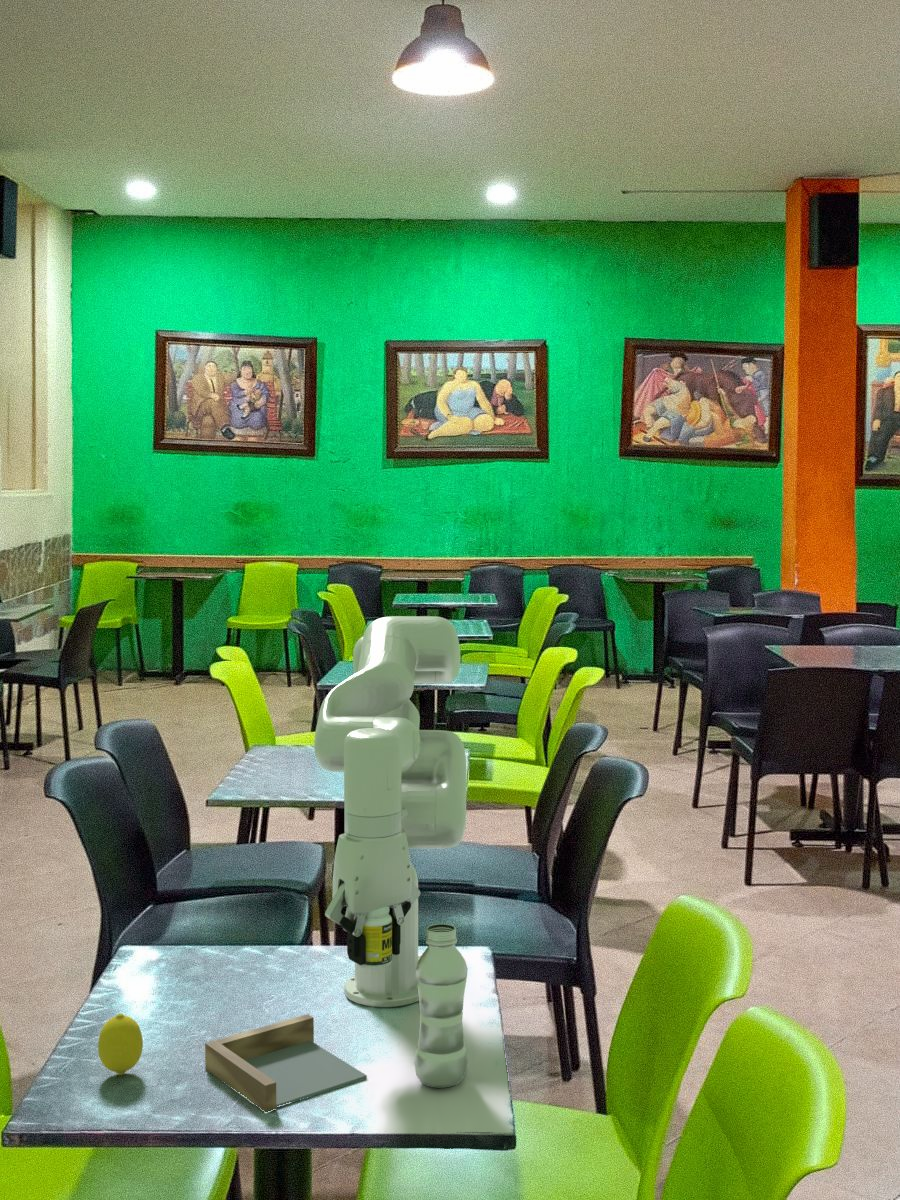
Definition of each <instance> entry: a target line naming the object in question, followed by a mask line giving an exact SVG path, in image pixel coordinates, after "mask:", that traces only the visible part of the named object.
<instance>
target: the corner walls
mask: <svg viewBox="0 0 900 1200" xmlns="http://www.w3.org/2000/svg"><path fill="white" fill-rule="evenodd" d="M314 1022H315V1021H314V1017H313V1016H311V1015H310V1014H303V1015H300V1016H296V1017H292V1018H289V1019H286V1020H282V1021H279V1022H276V1023H271V1024H268V1025H263V1026H261V1027H258V1028H253V1029H250V1030H248V1031H247V1030H246V1031H244V1032H240V1033H236V1034H233V1035H229V1036H225V1037H223V1038H219V1039H215V1040H211V1041H208V1042H205V1043H204V1047H205V1048H204V1049H205V1052H204V1054H205V1055H204V1056H205V1066H204V1067H205V1071H207V1070H208V1071H209V1072H208V1071H207V1072H208V1073H210V1074H211V1073H212V1074H213V1075H212V1074H211V1075H212V1076H214V1075H215V1076H216V1077H217V1078H216V1077H215V1076H214V1077H215V1078H216V1079H218V1078H219V1079H220V1080H221V1082H222V1081H223V1082H225V1083H226V1084H227V1085H229V1086H230V1087H232V1088H233V1089H235V1090H236V1091H237V1092H240V1094H242V1095H244V1096H245V1097H247V1099H249V1100H250V1101H251V1102H253V1103H254V1104H255V1105H257V1106H258V1107H260V1108H261V1109H262V1110H264V1111H265V1112H268V1111H271V1110H273V1109H278V1108H277V1104H276V1082H275V1081H274V1080H272V1079H271V1078H269V1077H268V1076H267V1075H265V1074H264V1073H262V1072H261V1071H259V1070H258V1069H256V1068H255V1067H254V1066H252V1065H251V1064H249V1063H248V1062H246V1061H245V1060H248V1059H251V1058H254V1057H258V1056H261V1055H264V1054H268V1053H271V1052H274V1051H278V1050H281V1049H284V1048H288V1047H291V1046H295V1045H298V1044H301V1043H305V1042H308V1041H312V1042H314V1041H315V1038H314V1037H315V1036H314V1035H315V1034H314V1031H315V1029H314V1027H315V1026H314V1024H315V1023H314ZM314 1043H315V1042H314ZM219 1079H218V1080H219ZM220 1080H219V1081H220ZM223 1082H222V1083H223ZM225 1083H224V1084H225ZM226 1084H225V1085H226ZM227 1085H226V1086H227ZM229 1086H228V1087H229ZM230 1087H229V1088H230ZM233 1089H232V1090H233ZM237 1092H236V1093H237Z"/></svg>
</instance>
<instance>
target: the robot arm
mask: <svg viewBox="0 0 900 1200" xmlns="http://www.w3.org/2000/svg"><path fill="white" fill-rule="evenodd" d="M457 633H458V632H457V631H456V628H455V626H454V625H453V623H452V622H451V621H450V620H449V619H447V618H444V617H441V616H436V615H435V616H431V615H430V616H429V615H428V616H427V615H423V616H421V615H420V616H418V615H417V616H416V615H413V616H412V615H411V616H410V615H405V616H404V615H402V616H401V615H398V616H397V615H396V616H395V615H394V616H393V615H391V616H390V615H389V616H384V617H379V618H377V619H375V620H372V622H370V623H369V625H368V626H367V627H366V629H365V631H364V632H363V636H361V637H360V638H359V639H358V640H357V641H356V642H355V644H354V648H353V653H352V665H353V666H352V668H353V674H352V675H351V676H349V677H348V678H346V679H344V680H343V681H342V682H340V683H339V684H338V685H336V686H335V687H333V688H332V689H331V690H330V691H329V692H328V694H326V696H325V697H324V699H323V700H322V703H321V705H320V708H319V712H318V718H317V722H316V723H317V724H316V727H315V734H314V744H313V745H314V746H313V747H314V748H313V749H314V756H315V758H316V761H317V763H318V764H319V767H321V768H322V769H324V770H326V771H329V772H334V773H335V772H336V773H339V772H342V773H343V790H344V792H343V793H344V794H343V795H344V796H343V799H344V801H343V802H344V803H343V804H344V805H343V806H344V807H343V808H344V812H343V813H344V833H341V834H339V835H338V839H337V844H336V849H335V854H334V861H333V870H332V871H333V873H332V875H333V876H332V895H331V897H332V899H331V901H330V903H329V905H328V906H327V908H326V910H325V913H324V916H325V917H326V918H328V919H329V920H330V921H333V922H334V923H336V924H337V925H338V926H339V927H340V928H342V930H343V931H345V932H346V954H347V956H348V957H347V958H348V959H349V960H350V961H352V962H354V975H353V976H351V977H350V978H349V979H348V980H346V982H345V983H344V987H343V988H344V989H343V990H344V995H345V996H346V998H348V999H349V1000H350V1001H351V1002H354V1003H355V1004H359V1005H362V1006H368V1007H375V1008H392V1007H393V1008H395V1007H402V1006H407V1005H410V1004H413V1003H417V1002H419V994H418V986H417V978H416V967H417V963H418V961H419V959H420V957H421V956H422V955H419V897H420V896H421V891H420V889H419V879H418V873H417V871H416V869H415V868H414V865H413V864H412V862H411V856H410V849H414V850H415V849H417V850H419V849H425V850H426V849H430V850H432V849H434V850H436V849H450V848H454V847H456V846H458V845H459V844H460V843H461V842H462V841H463V839H464V835H465V831H466V825H467V754H466V750H465V746H464V743H463V741H462V739H461V737H460V736H459V735H458V734H456V732H455V733H454V732H452V731H449V730H440V729H420V724H421V723H420V721H421V719H420V718H421V716H420V713H419V710H418V709H417V707H416V706H415V704H414V703H413V702H412V701H411V699H410V698H411V697H412V695H413V692H414V688H415V685H416V684H418V685H419V684H423V685H424V684H425V685H427V684H436V685H437V684H440V685H441V684H449V683H451V682H453V681H454V680H455V679H456V678H457V677H458V674H459V671H460V666H461V658H462V657H461V648H460V647H461V646H460V642H459V641H460V640H459V636H458V634H457ZM344 907H346V911H345V914H342V909H343V908H344ZM383 907H389V909H390V910H389V913H388V914H389V915H390V916H391V918H392V962H391V964H390V965H389V966H387V967H385V968H382V969H366V968H362V967H360V966H359V965H364V964H365V963H366V937H365V936H364V935H363V934H361V933H362V929H363V924H364V919H365V915H366V913H367V912H371V911H374V910H377V909H380V908H383ZM358 964H359V965H358Z"/></svg>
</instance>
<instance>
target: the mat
mask: <svg viewBox="0 0 900 1200" xmlns="http://www.w3.org/2000/svg"><path fill="white" fill-rule="evenodd" d="M245 1061H246V1062H248V1063H249V1064H251V1065H252V1066H254V1067H255V1068H256V1069H258V1070H259V1071H261V1072H262V1073H264V1074H265V1075H267V1076H268V1077H269V1078H271V1079H272V1080H274V1081H275V1082H276V1104H277V1106H279V1105H283V1104H286V1103H289V1102H293V1101H297V1102H299V1101H298V1100H300V1099H303V1098H306V1099H308V1098H307V1097H309V1098H312V1097H314V1095H315V1096H317V1094H318V1095H321V1094H324V1093H327V1092H330V1091H333V1090H336V1089H338V1088H342V1087H345V1086H348V1085H352V1084H354V1083H357V1082H360V1081H363V1080H365V1079H367V1078H368V1075H367V1074H365V1073H364V1072H362V1071H361V1070H359V1069H357V1068H355V1067H354V1066H352V1065H351V1064H349V1063H348V1062H345V1060H343V1059H341V1058H339V1057H337V1056H336V1055H334V1054H333V1053H331V1052H329V1051H328V1050H326V1049H325V1048H323V1047H321V1046H320V1045H318V1044H316V1043H315V1042H312V1041H308V1042H305V1043H301V1044H298V1045H295V1046H291V1047H288V1048H284V1049H281V1050H278V1051H274V1052H271V1053H268V1054H264V1055H261V1056H258V1057H254V1058H251V1059H248V1060H245ZM311 1096H312V1097H311ZM303 1100H304V1099H303ZM300 1101H301V1100H300Z"/></svg>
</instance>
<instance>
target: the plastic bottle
mask: <svg viewBox="0 0 900 1200" xmlns="http://www.w3.org/2000/svg"><path fill="white" fill-rule="evenodd" d="M457 942H458V937H457V928H456V926H455V925H453V924H450V923H434V924H430V925H428V926H427V927H426V937H425V944H427V947H426V949H425V950H424V951H423V953H421V955H420V956H421V957H420V959H419V961H418V963H417V967H416V978H417V986H418V994H419V1001H418V1003H419V1004H418V1007H419V1011H420V1012H419V1029H418V1030H419V1031H418V1041H417V1047H416V1050H415V1055H414V1056H415V1057H414V1069H415V1075H416V1077H417V1078H418V1080H419V1081H420V1083H422V1084H423V1085H424V1086H427V1087H432V1088H439V1089H440V1088H448V1087H452V1086H456V1085H458V1084H459V1083H460V1082H462V1080H463V1078H464V1077H465V1076H466V1070H467V1066H468V1057H467V1051H466V1047H465V1040H464V1039H465V1038H464V1037H465V1036H464V1025H463V1024H464V1022H463V1015H464V1014H463V1012H464V997H465V990H466V987H467V986H466V985H467V979H468V965H467V962H466V959H465V958H464V956H463V955H462V954H461V952H460V950H459V949H458V948H457V947H456V944H457Z"/></svg>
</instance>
